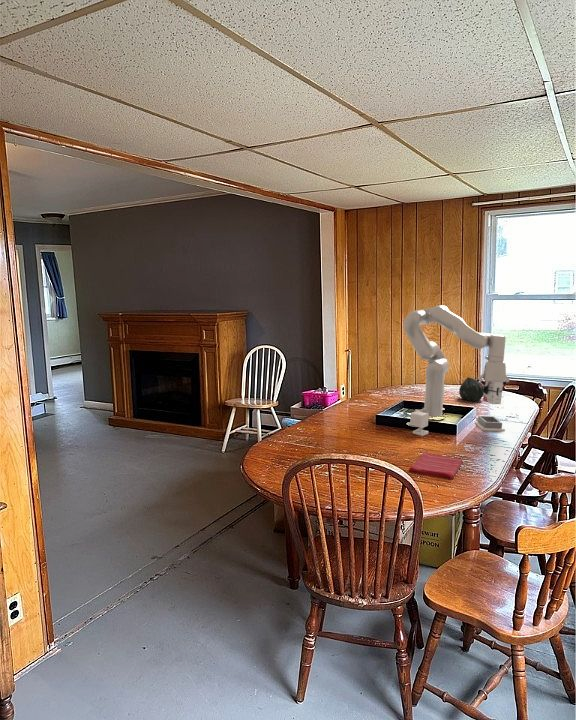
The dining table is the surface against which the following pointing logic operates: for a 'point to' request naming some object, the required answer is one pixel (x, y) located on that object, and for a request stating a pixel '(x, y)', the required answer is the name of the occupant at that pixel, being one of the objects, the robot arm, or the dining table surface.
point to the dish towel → (436, 466)
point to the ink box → (494, 392)
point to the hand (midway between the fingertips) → (492, 393)
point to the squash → (471, 390)
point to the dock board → (489, 423)
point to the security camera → (419, 422)
